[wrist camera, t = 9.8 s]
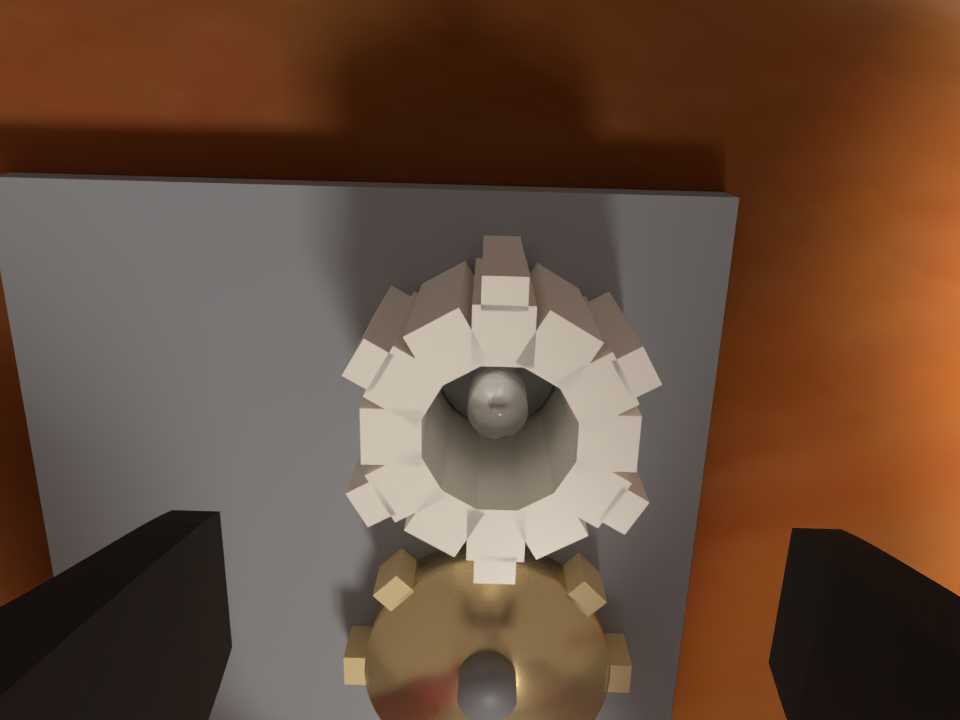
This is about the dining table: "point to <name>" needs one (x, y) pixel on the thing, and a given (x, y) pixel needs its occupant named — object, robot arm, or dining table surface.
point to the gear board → (356, 427)
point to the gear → (519, 458)
